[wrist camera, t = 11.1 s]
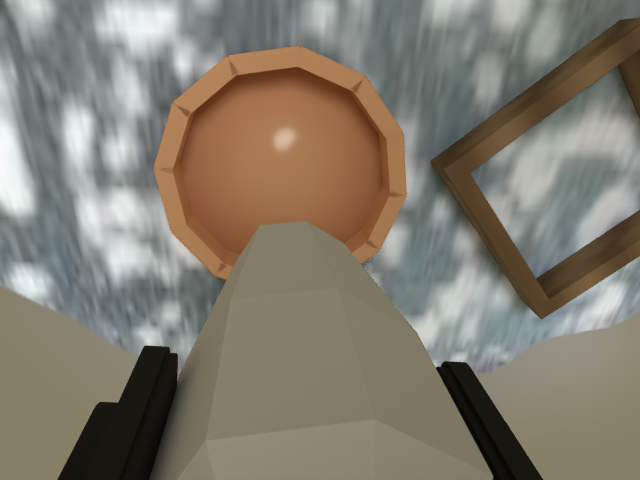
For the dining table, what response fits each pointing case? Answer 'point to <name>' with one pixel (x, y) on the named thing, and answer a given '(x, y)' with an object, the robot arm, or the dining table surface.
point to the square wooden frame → (514, 120)
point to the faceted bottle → (310, 378)
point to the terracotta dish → (279, 155)
